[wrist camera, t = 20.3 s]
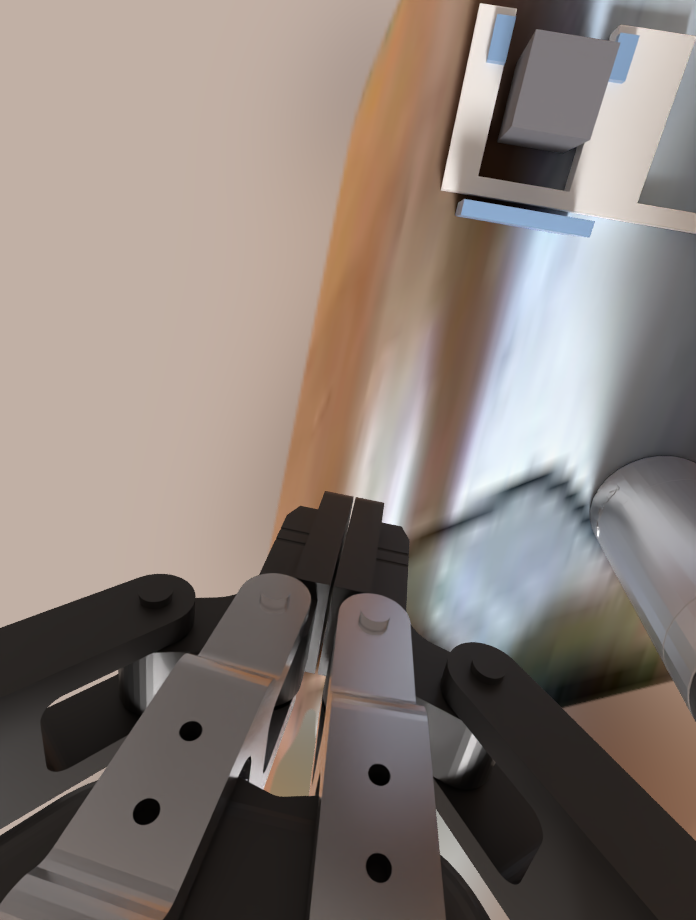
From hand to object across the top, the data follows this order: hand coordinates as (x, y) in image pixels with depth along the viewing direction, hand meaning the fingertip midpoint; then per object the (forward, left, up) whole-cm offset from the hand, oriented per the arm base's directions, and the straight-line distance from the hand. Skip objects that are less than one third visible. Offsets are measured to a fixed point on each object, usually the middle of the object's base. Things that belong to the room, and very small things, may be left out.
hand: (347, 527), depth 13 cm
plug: (-6, -14, -27) cm, 31 cm away
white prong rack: (-11, -13, -27) cm, 32 cm away
